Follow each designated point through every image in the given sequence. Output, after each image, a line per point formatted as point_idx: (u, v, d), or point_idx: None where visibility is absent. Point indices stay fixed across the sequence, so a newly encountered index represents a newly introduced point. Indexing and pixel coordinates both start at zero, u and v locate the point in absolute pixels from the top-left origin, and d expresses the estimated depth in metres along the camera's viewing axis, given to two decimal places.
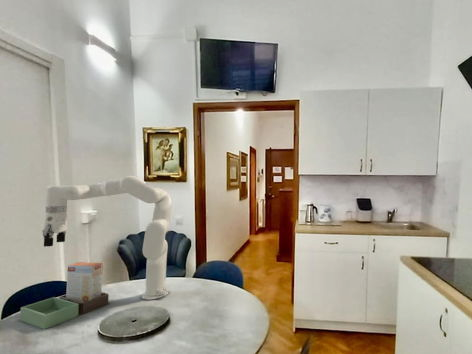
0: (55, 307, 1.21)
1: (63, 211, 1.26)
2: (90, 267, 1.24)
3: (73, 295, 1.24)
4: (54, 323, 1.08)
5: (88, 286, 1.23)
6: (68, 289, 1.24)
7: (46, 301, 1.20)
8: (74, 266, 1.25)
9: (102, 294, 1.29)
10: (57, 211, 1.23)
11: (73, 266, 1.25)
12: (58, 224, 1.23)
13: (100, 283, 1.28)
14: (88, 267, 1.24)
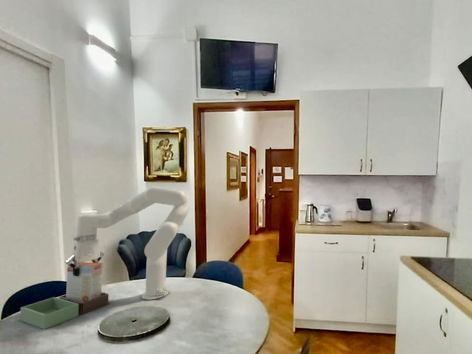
0: (55, 307, 1.21)
1: (87, 240, 1.25)
2: (90, 267, 1.24)
3: (73, 295, 1.23)
4: (54, 323, 1.08)
5: (88, 286, 1.23)
6: (68, 289, 1.24)
7: (46, 301, 1.20)
8: None
9: (102, 294, 1.29)
10: (81, 240, 1.24)
11: None
12: (81, 253, 1.23)
13: (100, 283, 1.28)
14: (88, 267, 1.24)
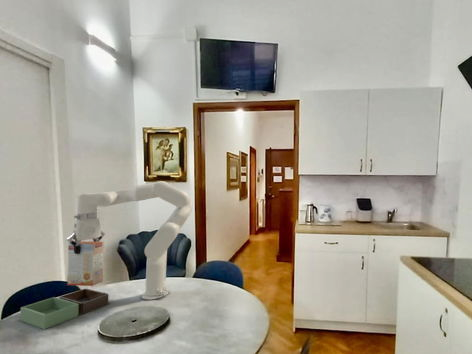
0: (55, 307, 1.21)
1: (88, 218, 1.25)
2: (91, 245, 1.24)
3: (75, 273, 1.24)
4: (54, 323, 1.08)
5: (89, 263, 1.23)
6: (69, 267, 1.24)
7: (46, 301, 1.20)
8: None
9: (102, 294, 1.29)
10: (82, 218, 1.24)
11: None
12: (82, 231, 1.23)
13: (101, 261, 1.28)
14: (89, 245, 1.24)
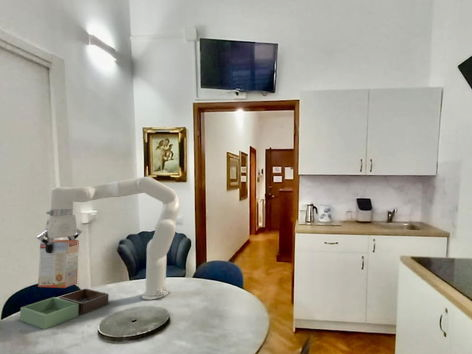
0: (55, 307, 1.21)
1: (62, 215, 1.16)
2: (64, 244, 1.14)
3: (46, 274, 1.14)
4: (54, 323, 1.08)
5: (62, 263, 1.14)
6: (41, 267, 1.15)
7: (46, 301, 1.20)
8: None
9: (102, 294, 1.29)
10: (55, 215, 1.14)
11: None
12: (54, 228, 1.14)
13: (76, 262, 1.18)
14: (62, 243, 1.14)
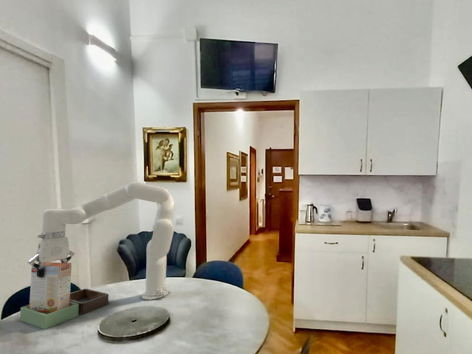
0: None
1: (54, 238, 1.13)
2: (56, 268, 1.11)
3: (38, 298, 1.11)
4: (54, 323, 1.08)
5: (53, 288, 1.11)
6: (32, 292, 1.12)
7: None
8: None
9: (102, 294, 1.29)
10: (46, 238, 1.12)
11: None
12: (46, 252, 1.11)
13: (68, 285, 1.16)
14: (54, 267, 1.12)
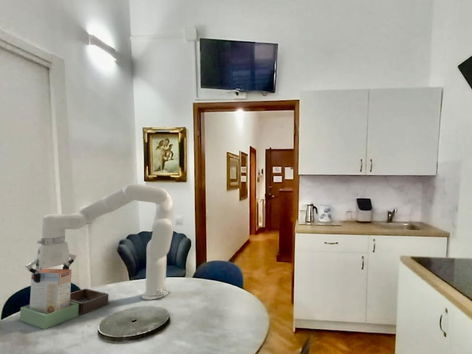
0: None
1: (53, 243, 1.13)
2: (56, 274, 1.11)
3: (38, 305, 1.11)
4: (54, 323, 1.08)
5: (53, 295, 1.11)
6: (32, 299, 1.12)
7: None
8: None
9: (102, 294, 1.29)
10: (46, 243, 1.12)
11: None
12: (46, 258, 1.11)
13: (68, 292, 1.15)
14: (54, 274, 1.12)
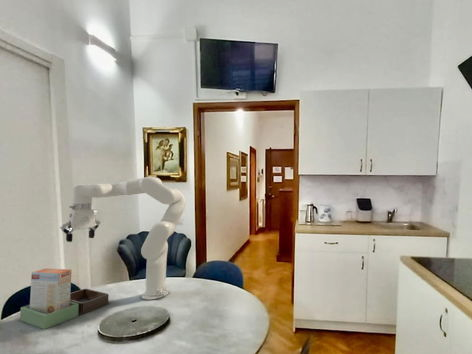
0: None
1: (83, 209, 1.29)
2: (56, 274, 1.11)
3: (38, 305, 1.11)
4: (54, 323, 1.08)
5: (53, 295, 1.11)
6: (32, 299, 1.12)
7: None
8: (38, 273, 1.12)
9: (102, 294, 1.29)
10: (77, 208, 1.28)
11: (38, 273, 1.12)
12: (77, 221, 1.27)
13: (68, 292, 1.15)
14: (54, 274, 1.12)
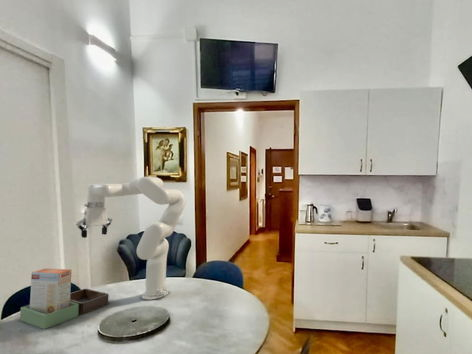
0: None
1: (96, 207, 1.39)
2: (56, 274, 1.11)
3: (38, 305, 1.11)
4: (54, 323, 1.08)
5: (53, 295, 1.11)
6: (32, 299, 1.12)
7: None
8: (38, 273, 1.12)
9: (102, 294, 1.29)
10: (91, 207, 1.38)
11: (38, 273, 1.12)
12: (91, 218, 1.37)
13: (68, 292, 1.15)
14: (54, 274, 1.12)
